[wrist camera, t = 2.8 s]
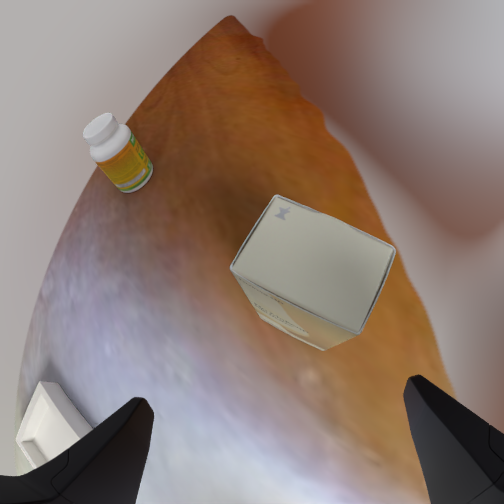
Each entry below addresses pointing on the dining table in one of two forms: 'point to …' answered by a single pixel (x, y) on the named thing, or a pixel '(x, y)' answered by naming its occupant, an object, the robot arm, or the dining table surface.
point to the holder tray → (50, 424)
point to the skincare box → (311, 273)
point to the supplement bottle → (118, 153)
